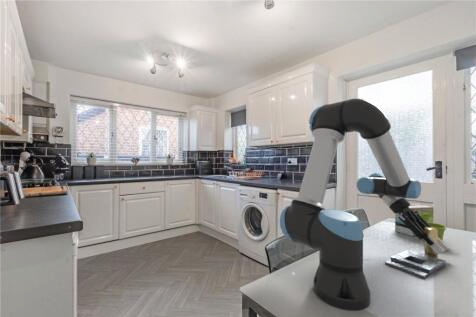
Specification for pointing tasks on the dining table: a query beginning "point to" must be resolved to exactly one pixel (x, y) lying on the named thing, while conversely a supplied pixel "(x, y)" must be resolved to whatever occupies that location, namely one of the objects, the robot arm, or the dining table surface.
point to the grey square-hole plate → (410, 268)
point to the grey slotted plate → (428, 261)
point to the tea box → (424, 212)
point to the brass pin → (434, 235)
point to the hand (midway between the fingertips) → (443, 251)
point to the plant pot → (440, 229)
